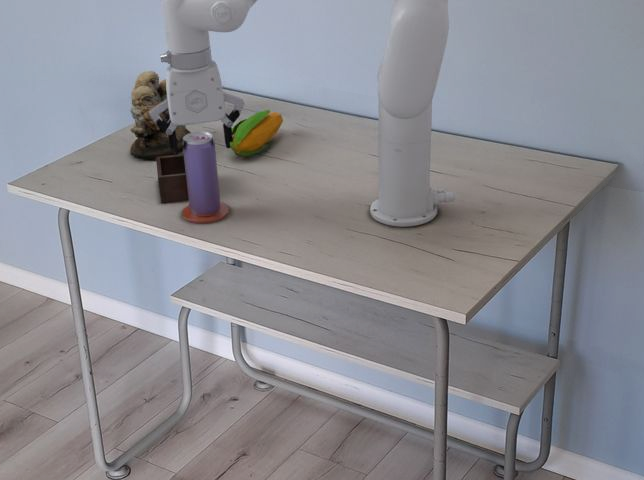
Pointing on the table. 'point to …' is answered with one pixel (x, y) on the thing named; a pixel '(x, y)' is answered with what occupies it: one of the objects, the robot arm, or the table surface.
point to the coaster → (208, 219)
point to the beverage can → (201, 173)
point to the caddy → (172, 178)
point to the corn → (255, 132)
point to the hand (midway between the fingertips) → (202, 149)
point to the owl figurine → (146, 130)
